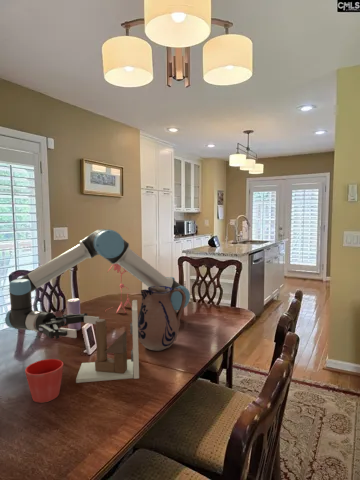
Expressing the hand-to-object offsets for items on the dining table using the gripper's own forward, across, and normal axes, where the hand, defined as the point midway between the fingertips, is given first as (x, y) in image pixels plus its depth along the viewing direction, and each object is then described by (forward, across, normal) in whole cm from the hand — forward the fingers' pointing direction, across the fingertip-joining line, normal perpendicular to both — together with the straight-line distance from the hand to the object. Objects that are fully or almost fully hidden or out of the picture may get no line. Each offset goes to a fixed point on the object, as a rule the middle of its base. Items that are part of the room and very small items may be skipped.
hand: (88, 327), depth 116 cm
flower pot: (-2, +20, -16) cm, 25 cm away
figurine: (-28, -67, -16) cm, 74 cm away
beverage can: (-32, -32, -16) cm, 48 cm away
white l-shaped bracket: (+9, 0, -16) cm, 18 cm away
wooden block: (+10, +1, -15) cm, 18 cm away
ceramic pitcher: (+17, -27, -16) cm, 36 cm away
